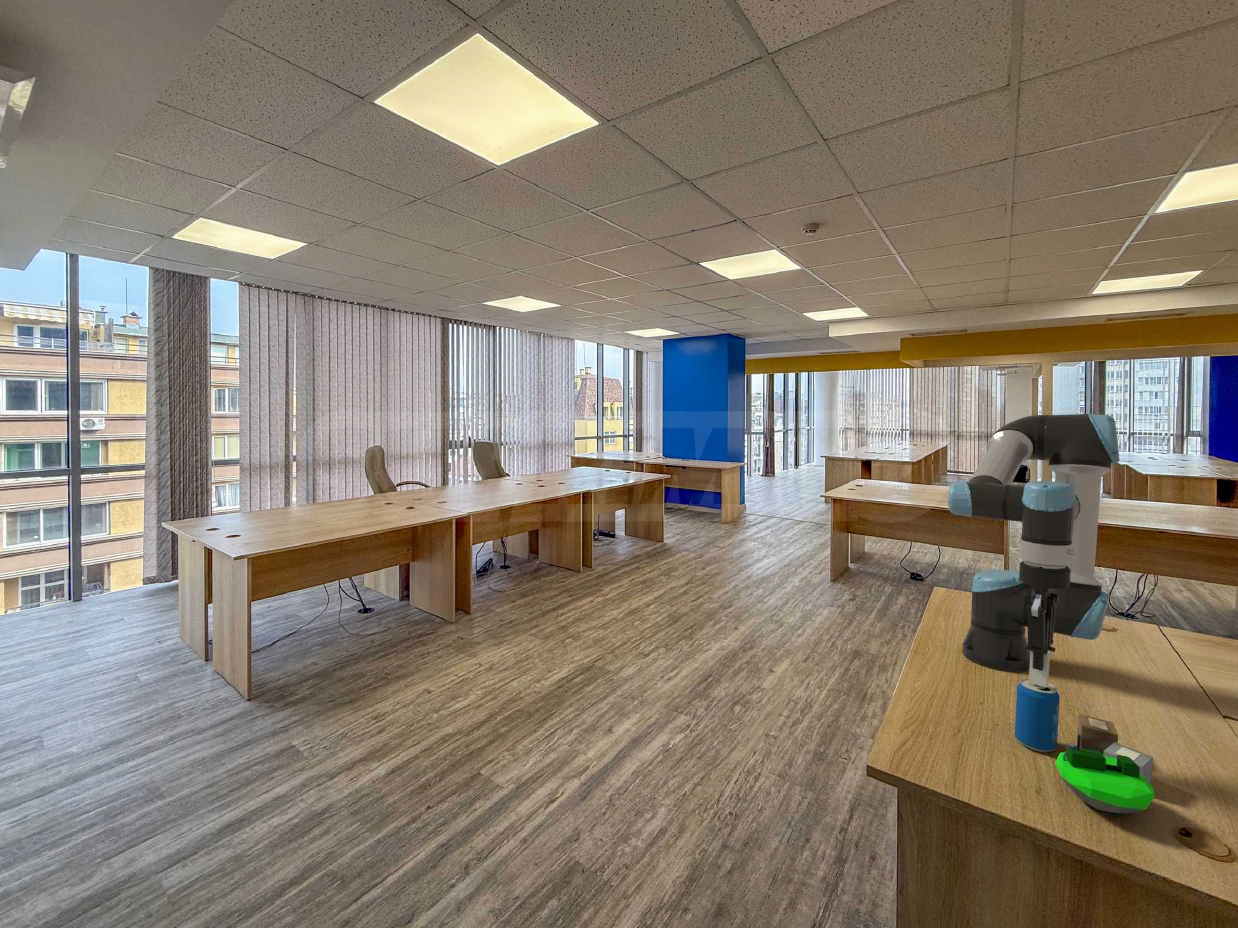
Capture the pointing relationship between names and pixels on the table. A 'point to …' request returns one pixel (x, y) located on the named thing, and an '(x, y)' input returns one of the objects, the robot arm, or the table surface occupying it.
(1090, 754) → the green toy boat
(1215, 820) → the table surface
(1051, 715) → the beverage can
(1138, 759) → the slate block
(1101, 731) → the walnut block
